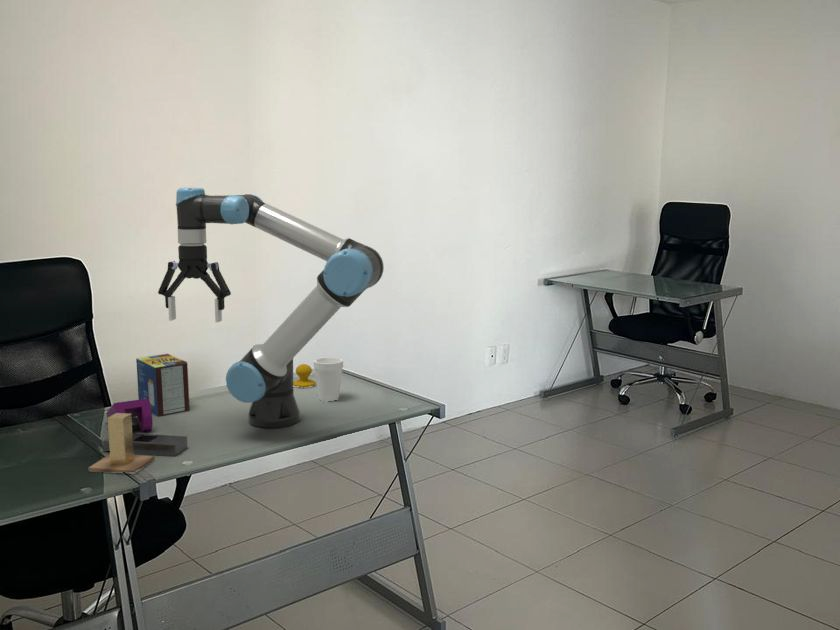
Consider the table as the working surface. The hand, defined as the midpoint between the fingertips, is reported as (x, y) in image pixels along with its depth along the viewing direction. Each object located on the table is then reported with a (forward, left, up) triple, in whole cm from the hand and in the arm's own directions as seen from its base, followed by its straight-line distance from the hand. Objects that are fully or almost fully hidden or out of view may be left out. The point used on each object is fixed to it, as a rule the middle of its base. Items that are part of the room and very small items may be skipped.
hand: (195, 320), depth 215 cm
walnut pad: (+7, +30, -32) cm, 44 cm away
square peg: (+7, +30, -31) cm, 43 cm away
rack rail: (+7, +18, -32) cm, 37 cm away
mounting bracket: (+22, +1, -32) cm, 39 cm away
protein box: (+20, -18, -32) cm, 42 cm away
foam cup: (-28, -37, -32) cm, 56 cm away
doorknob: (-15, -52, -32) cm, 63 cm away
